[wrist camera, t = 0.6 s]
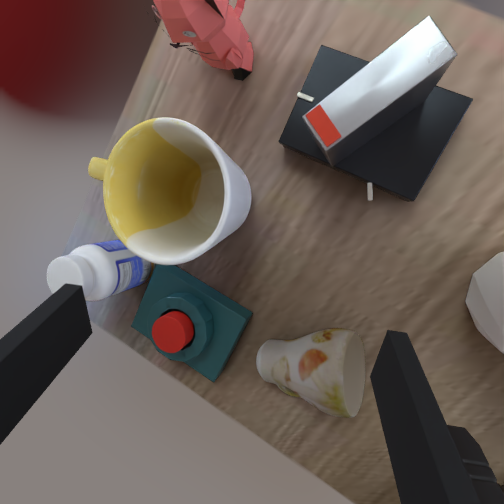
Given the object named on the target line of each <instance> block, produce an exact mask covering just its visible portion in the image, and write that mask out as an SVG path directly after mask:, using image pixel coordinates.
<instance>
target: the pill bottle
mask: <svg viewBox="0 0 504 504" xmlns="http://www.w3.org/2000/svg"><path fill="white" fill-rule="evenodd" d="M154 269H155V263H151V262H148V261H146V260H144V259H142V258H140V257H138V256H137V255H135V254H134V253H132V252H131V251H130V250H129V249H128V248H127V247H126V246H125V245H124V244H123V243H122V242H121V241H120V240H114V241H108V242H101V243H94V244H88V245H83V246H80V247H77V248H76V249H74V250H73V251H72V252H71V253H70V254H69V255H67V256H62V257H58V258H56V259H54V260H53V261H52V262H51V263H50V265H49V267H48V270H47V282H48V286H49V288H50V290H51V292H52V294H54V293H55V292H56V291H57V290H58V289H59V288H61V287H62V286H63V285H64V284H65V283H68V284H75V285H81V286H82V287H83V292H84V297H85V300H87V301H98V300H102V299H105V298H107V297H110V296H113V295H115V294H118V293H120V292H123V291H126V290H128V289H131V288H134V287H136V286H139V285H141V284H143V283H145V282H147V281H148V280H149V279H150V278H151V277H152V274H153V272H154Z"/></svg>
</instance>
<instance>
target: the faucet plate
mask: <svg viewBox="0 0 504 504" xmlns="http://www.w3.org/2000/svg"><path fill="white" fill-rule="evenodd" d="M368 63H370V62H368V61H365V60H362V59H360V58H357V57H354V56H351V55H348V54H346V53H343V52H340V51H337V50H334V49H332V48H329V47H326V46H323V45H321V47H320V49H319V51H318V54H317V56H316V58H315V61H314V63H313V65H312V67H311V70H310V72H309V74H308V76H307V79H306V81H305V83H304V85H303V88H302V90H301V92H298V94H297V97H298V99H297V101H296V103H295V106H294V108H293V110H292V112H291V115H290V117H289V119H288V121H287V124H286V126H285V128H284V131H283V133H282V135H281V137H280V140H279V143H281V144H282V145H283V146H284V147H285V148H288V149H290V150H292V151H294V152H297V153H299V154H301V155H303V156H306V157H308V158H310V159H312V160H315V161H317V162H319V163H322V164H324V165H326V166H328V167H331V168H333V169H335V170H337V171H340V172H342V173H344V174H346V175H349V176H351V177H353V178H356V179H358V180H360V181H362V182H365V183H367V193H368V201H369V200H373V196H372V186H374V187H376V188H378V189H381V190H383V191H385V192H387V193H390V194H392V195H394V196H396V197H399V198H401V199H403V200H405V201H408V202H409V201H414V200H415V198H416V197H417V195H418V193H419V192H420V190H421V188H422V186H423V185H424V183H425V181H426V180H427V178H428V176H429V174H430V173H431V171H432V169H433V168H434V166H435V164H436V162H437V161H438V159H439V157H440V156H441V154H442V152H443V150H444V149H445V147H446V145H447V144H448V142H449V140H450V138H451V137H452V135H453V133H454V131H455V130H456V128H457V126H458V125H459V123H460V121H461V119H462V118H463V116H464V114H465V113H466V111H467V109H468V107H469V106H470V104H471V102H472V101H473V99H472V98H469V97H466V96H463V95H461V94H458V93H455V92H452V91H449V90H447V89H444V88H441V87H438V86H435V87H434V89H433V90H432V91H431V93H430V94H429V96H428V97H427V99H426V100H425V101H424V102H423V103H421V104H420V105H419V106H417V107H416V108H414V109H413V110H411V111H410V112H409V113H407V114H406V115H404V116H403V117H402V118H400V119H399V120H397V121H396V122H395V123H393V124H392V125H390V126H389V127H388V128H386V129H385V130H383V131H382V132H381V133H379V134H378V135H376V136H375V137H374V138H372V139H371V140H369V141H368V142H367V143H365V144H364V145H362V146H361V147H360V148H358V149H357V150H355V151H354V152H353V153H351V154H350V155H348V156H347V157H346V158H344V159H343V160H341V161H340V162H339V163H337V164H336V165H334V166H333V167H332V166H331V164H330V163H329V161H328V160H327V158H326V157H325V155H324V154H323V152H322V151H321V149H320V148H319V147H318V145H317V144H316V142H315V140H314V138H313V137H312V135H311V133H310V131H309V129H308V127H307V125H306V124H305V122H304V120H303V118H302V117H303V115H305V114H306V113H307V112H308V111H310V110H311V109H312V108H313V107H315V106H316V105H317V104H318V103H320V102H321V101H322V100H323V99H325V98H326V97H327V96H328V95H330V94H331V93H332V92H333V91H335V90H336V89H337V88H338V87H340V86H341V85H342V84H343V83H345V82H346V81H347V80H348V79H350V78H351V77H352V76H353V75H355V74H356V73H357V72H358V71H360V70H361V69H362V68H363V67H365V66H366V65H367V64H368Z"/></svg>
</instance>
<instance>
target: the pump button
mask: <svg viewBox="0 0 504 504" xmlns="http://www.w3.org/2000/svg"><path fill="white" fill-rule="evenodd" d="M193 335H194V326H193V323H192V321H191V319H190V318H189V317H188V316H187V315H186V314H184V313H183V312H180V311H171V312H169V313H167V314H165V315H164V316H162V317H160V318H158V319H157V320H156V321H155V323H154V324H153V327H152V337H153V340H154V342H155V344H156V345H157V346H158V347H159V348H160V349H161V350H163V351H165V352H167V353H175V352H178V351H180V350H181V349H182V348H183V347H184V346H186V345H187V344H188V343H189V342H190V341H191V340H192V338H193Z"/></svg>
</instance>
